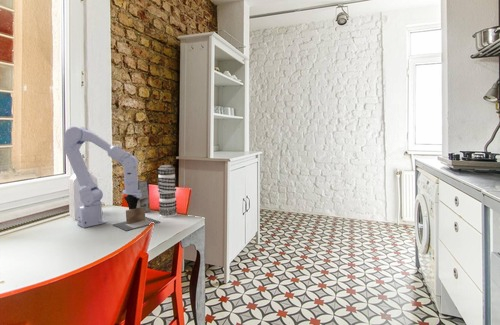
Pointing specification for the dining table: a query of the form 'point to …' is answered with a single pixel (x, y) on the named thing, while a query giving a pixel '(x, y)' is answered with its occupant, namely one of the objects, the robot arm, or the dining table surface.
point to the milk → (76, 194)
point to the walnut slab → (135, 215)
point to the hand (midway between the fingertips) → (132, 211)
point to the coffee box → (143, 195)
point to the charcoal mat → (135, 224)
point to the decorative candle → (167, 191)
